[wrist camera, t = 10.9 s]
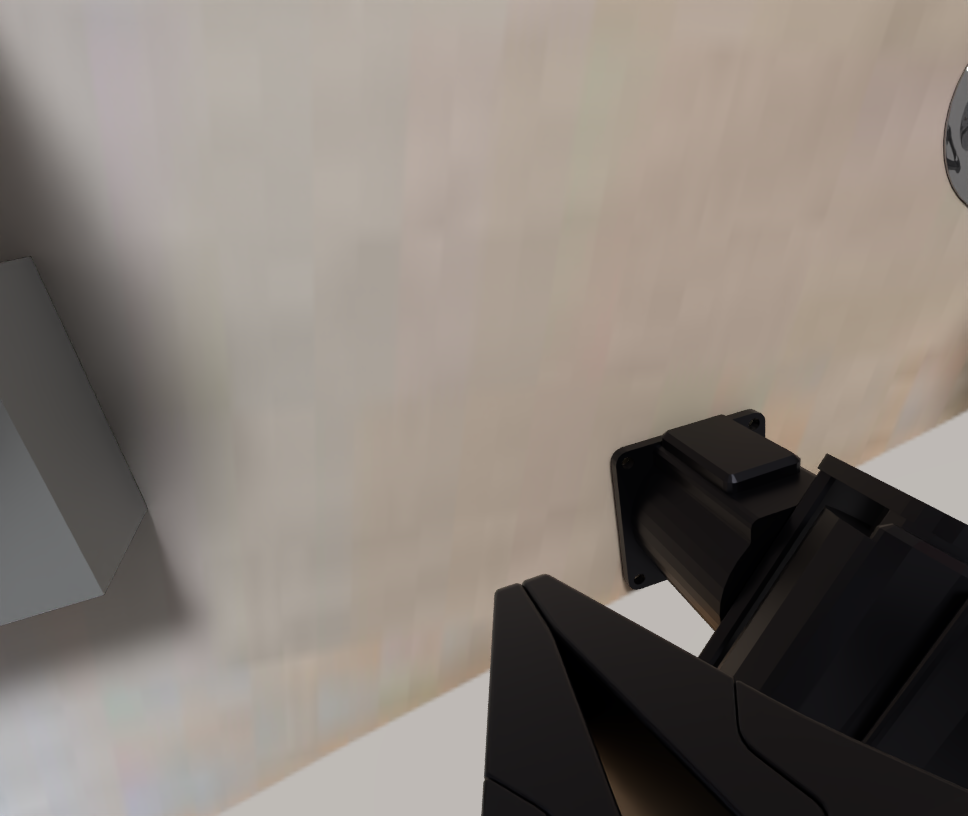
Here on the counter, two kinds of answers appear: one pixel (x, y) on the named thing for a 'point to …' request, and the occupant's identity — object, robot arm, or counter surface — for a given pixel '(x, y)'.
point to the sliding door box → (54, 462)
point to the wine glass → (958, 139)
